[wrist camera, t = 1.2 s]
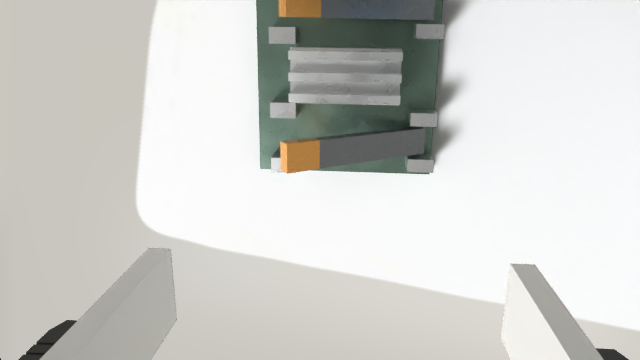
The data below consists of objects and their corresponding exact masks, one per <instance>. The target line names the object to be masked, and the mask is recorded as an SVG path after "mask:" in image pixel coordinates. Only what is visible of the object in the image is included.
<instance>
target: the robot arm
mask: <svg viewBox="0 0 640 360" xmlns="http://www.w3.org/2000/svg"><path fill="white" fill-rule="evenodd" d="M176 316H177V315H176V304H175V293H174V280H173V269H172V258H171V249H164V248H148V249H147V250H146V251H145V252H144V253H143V255H142V256H140V257H139V259H138V260H137V261H136V262H135V263H134V264H133V265H132V266H131V267H130V268H129V269H128V270H127V271H126V272H125V273H124V274H123V275H122V276H121V277H120V278H119V279H118V280H117V281H116V282H115V283H114V284H113V285H112V286H111V287H110V288H109V289H108V290H107V291H106V292H105V293H104V294H103V295H102V296H101V297H100V298H99V299H98V300H97V301H96V302H95V303H94V305H92V306H91V308H89V310H88V311H87V312H86V313H85V314H84V315H83V316H82V317H81V318H80V319H79V320H78V321H74V320H66V321H65V322H63V323H61V324H59V325H58V326H56V327H54V328H52V329H50V330H49V331H48V332H47V333H46V334H45V335H44V336H43V337H42V338H41V339H40V340H38V341H37V344H36V345H33V346H32V347H31V348H30V349H29V350H28V351H27V352H26V355H23V356H22V357H21V358H20V359H19V360H151V359H152V358H153V356H154V354H155V353H156V351H157V350H158V348H159V347H160V345H161V344H162V342H163V341H164V339H165V337H166V336H167V334H168V333H169V331H170V329H171V328H172V327H173V325H174V323H175V322H176V320H177V317H176ZM501 339H502V341H503V344H504V346H505V348H506V350H507V352H508V355H509V357H510V359H511V360H628V359H627V358H626V357H624V356H623V355H622V354H620V353H619V352H617V351H616V350H614V349H597V348H595V347H594V346H593V344H592V343H591V341H590V340H589V339H588V337H587V336H586V334H585V333H584V332H583V330H582V329H581V328H580V326H579V325H578V323H577V322H576V321H575V319H574V318H573V317H572V315H571V314H570V312H569V311H568V310H567V308H566V307H565V305H564V304H563V303H562V301H561V300H560V299H559V297H558V296H557V294H556V293H555V292H554V290H553V289H552V288H551V286H550V285H549V283H548V282H547V281H546V279H545V278H544V277H543V275H542V274H541V272H540V271H539V270H538V268H537V267H536V266H535V265H530V264H510V271H509V279H508V286H507V294H506V302H505V309H504V318H503V324H502V332H501ZM0 360H1V358H0Z"/></svg>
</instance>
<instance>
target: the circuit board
mask: <svg viewBox="0 0 640 360" xmlns="http://www.w3.org/2000/svg"><path fill="white" fill-rule="evenodd" d="M442 4H443V0H435V7H434V20H396V19H354V18H312V17H279V0H256V7H257V47H258V88H259V128H260V169H271V172H284V171H282V170H281V154H280V141H288V140H297V139H306V138H315V137H324V136H333V135H342V134H351V133H360V132H369V131H378V130H387V129H396V128H405V127H414V126H418V127H422V128H426V129H425V143H424V153H423V154H416V155H409V156H403V157H396V158H389V159H382V160H375V161H369V162H362V163H355V164H348V165H341V166H334V167H328V168H321V169H314V170H319V171H349V172H379V173H409V174H429V173H433V168H434V159H433V157H432V155H431V145H432V132H433V127H437V118H438V113H437V112H436V111H435V110H434V106H435V93H436V81H437V68H438V55H439V42H440V39H444V31H445V24H441V17H442ZM293 173H296V172H293Z"/></svg>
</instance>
